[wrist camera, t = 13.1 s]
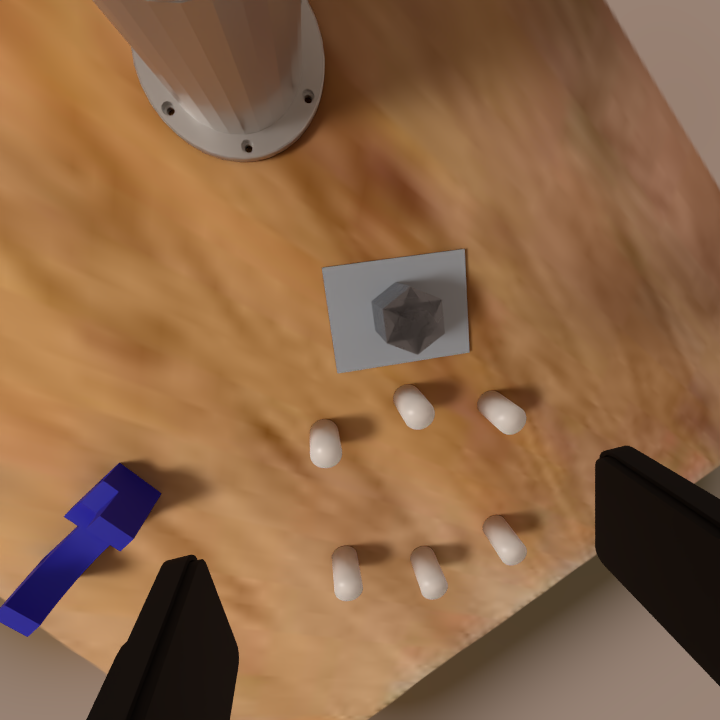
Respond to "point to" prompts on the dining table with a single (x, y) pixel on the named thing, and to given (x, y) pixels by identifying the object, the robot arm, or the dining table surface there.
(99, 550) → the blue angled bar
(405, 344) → the grey faceted polyhedron
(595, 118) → the dining table surface
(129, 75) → the dining table surface
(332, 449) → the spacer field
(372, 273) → the mat
